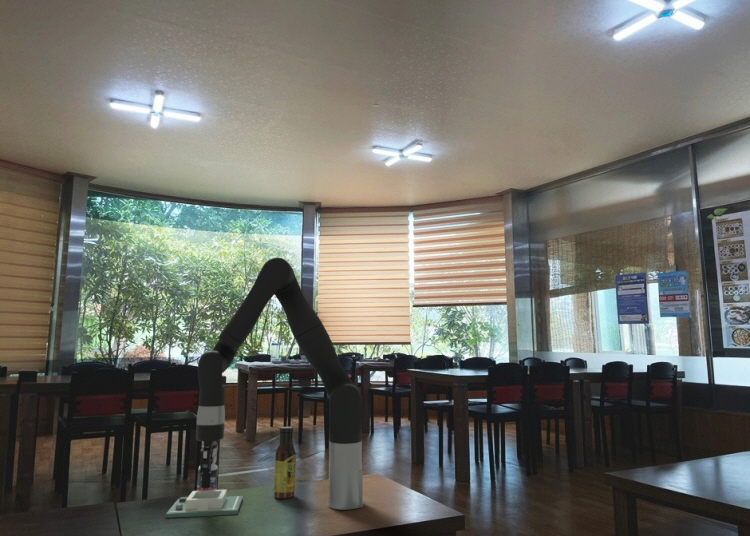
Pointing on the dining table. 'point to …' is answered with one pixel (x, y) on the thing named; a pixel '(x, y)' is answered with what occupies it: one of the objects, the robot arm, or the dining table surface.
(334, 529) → the dining table surface
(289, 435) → the sauce bottle
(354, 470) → the robot arm
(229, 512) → the board
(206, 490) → the pill bottle
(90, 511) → the dining table surface
